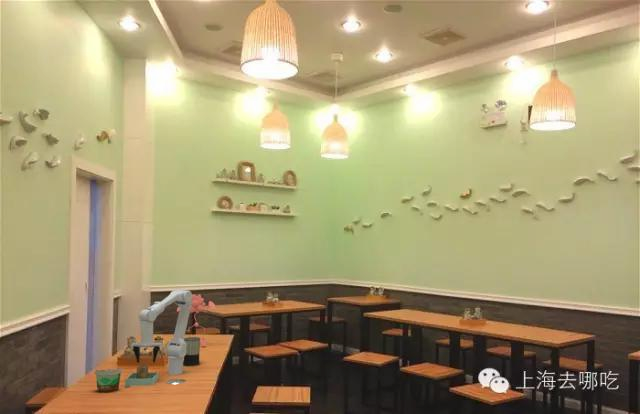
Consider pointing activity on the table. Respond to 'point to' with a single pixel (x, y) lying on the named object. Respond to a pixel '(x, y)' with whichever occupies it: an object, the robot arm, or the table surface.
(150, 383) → the teal bin
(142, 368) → the brown wooden block
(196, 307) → the pink flower branch
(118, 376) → the food container
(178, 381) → the steel base plate
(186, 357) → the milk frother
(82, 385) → the table surface
